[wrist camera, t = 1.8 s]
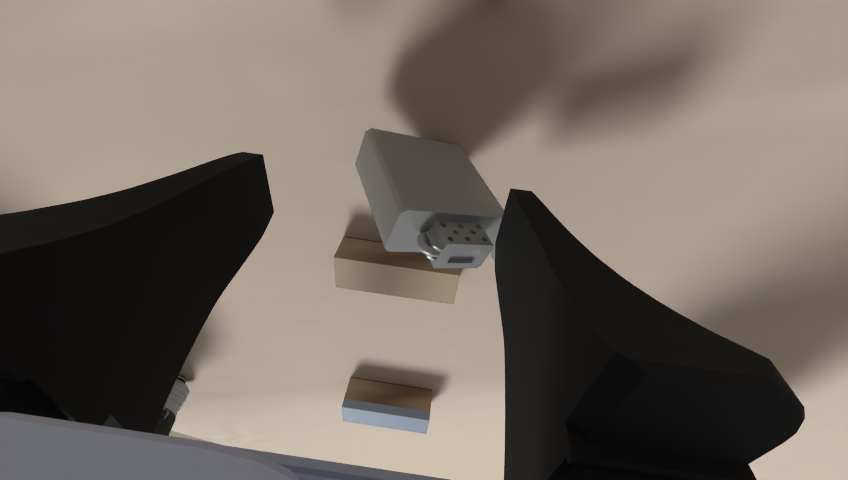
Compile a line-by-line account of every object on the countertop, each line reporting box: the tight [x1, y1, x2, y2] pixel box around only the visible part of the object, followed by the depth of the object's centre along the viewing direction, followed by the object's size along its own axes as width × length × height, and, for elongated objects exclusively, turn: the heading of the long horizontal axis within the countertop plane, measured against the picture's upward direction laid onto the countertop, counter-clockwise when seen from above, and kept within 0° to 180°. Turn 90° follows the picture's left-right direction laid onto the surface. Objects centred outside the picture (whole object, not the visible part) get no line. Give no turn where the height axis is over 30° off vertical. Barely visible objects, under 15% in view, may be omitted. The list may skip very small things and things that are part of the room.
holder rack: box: [334, 237, 460, 434], centre depth 18 cm, size 6×28×2 cm, turn 174°
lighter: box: [355, 128, 504, 268], centre depth 13 cm, size 7×2×8 cm, turn 68°
